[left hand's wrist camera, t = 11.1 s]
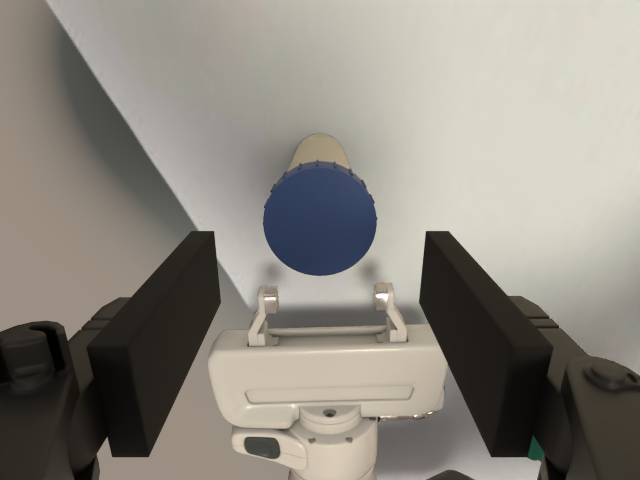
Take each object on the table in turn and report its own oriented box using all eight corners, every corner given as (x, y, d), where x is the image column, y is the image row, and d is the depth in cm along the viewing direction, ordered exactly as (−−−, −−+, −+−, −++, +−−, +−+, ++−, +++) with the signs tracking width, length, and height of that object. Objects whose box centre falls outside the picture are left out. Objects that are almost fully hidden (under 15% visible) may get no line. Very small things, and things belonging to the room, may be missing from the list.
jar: (329, 123, 35) (339, 155, 18) (354, 169, 36) (384, 238, 19) (284, 150, 35) (253, 204, 19) (310, 194, 37) (303, 281, 20)
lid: (340, 138, 19) (343, 144, 17) (390, 231, 21) (397, 244, 19) (246, 193, 20) (239, 203, 18) (301, 277, 22) (299, 294, 20)
